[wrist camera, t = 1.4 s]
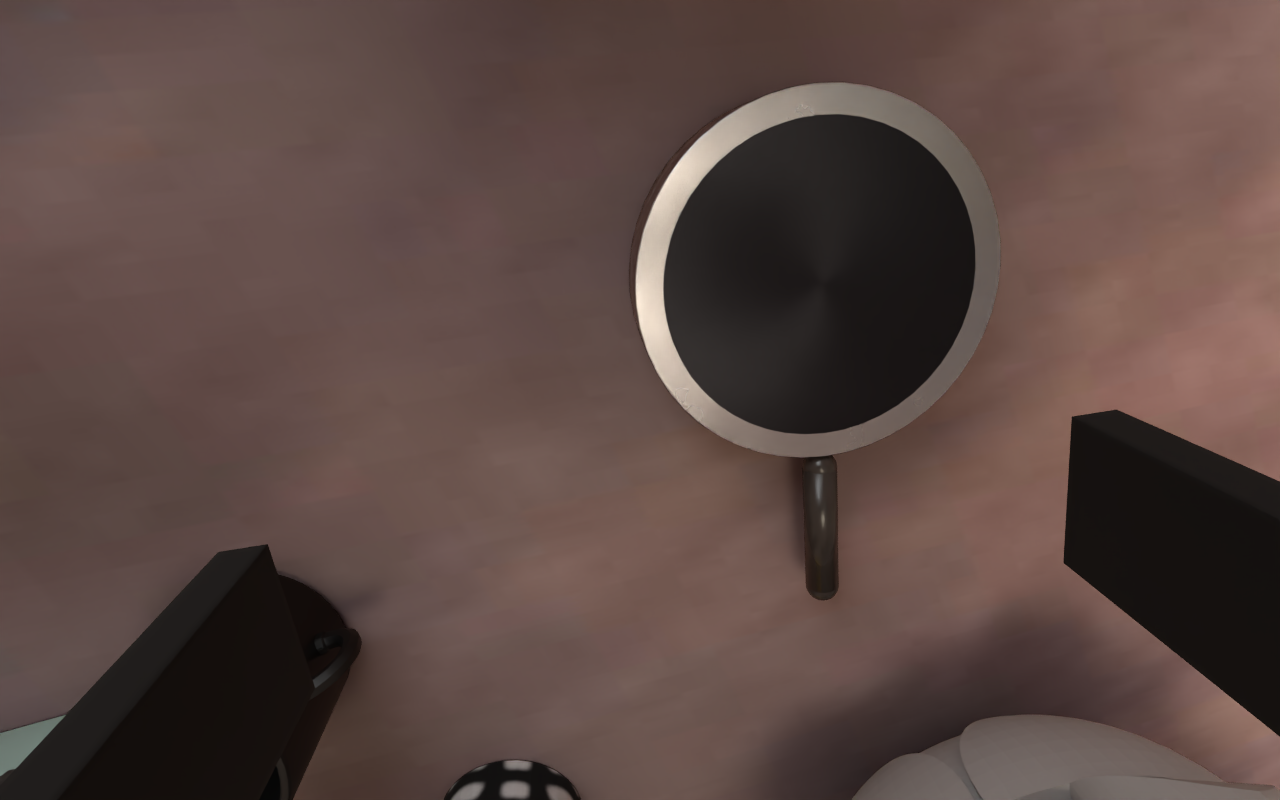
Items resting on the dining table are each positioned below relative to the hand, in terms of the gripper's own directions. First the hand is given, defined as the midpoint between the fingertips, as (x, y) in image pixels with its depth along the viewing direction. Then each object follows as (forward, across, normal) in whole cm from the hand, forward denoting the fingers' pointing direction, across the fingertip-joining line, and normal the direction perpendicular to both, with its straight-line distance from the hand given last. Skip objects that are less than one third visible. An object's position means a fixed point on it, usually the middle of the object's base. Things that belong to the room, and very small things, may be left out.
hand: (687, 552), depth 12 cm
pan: (+23, +9, -4) cm, 25 cm away
